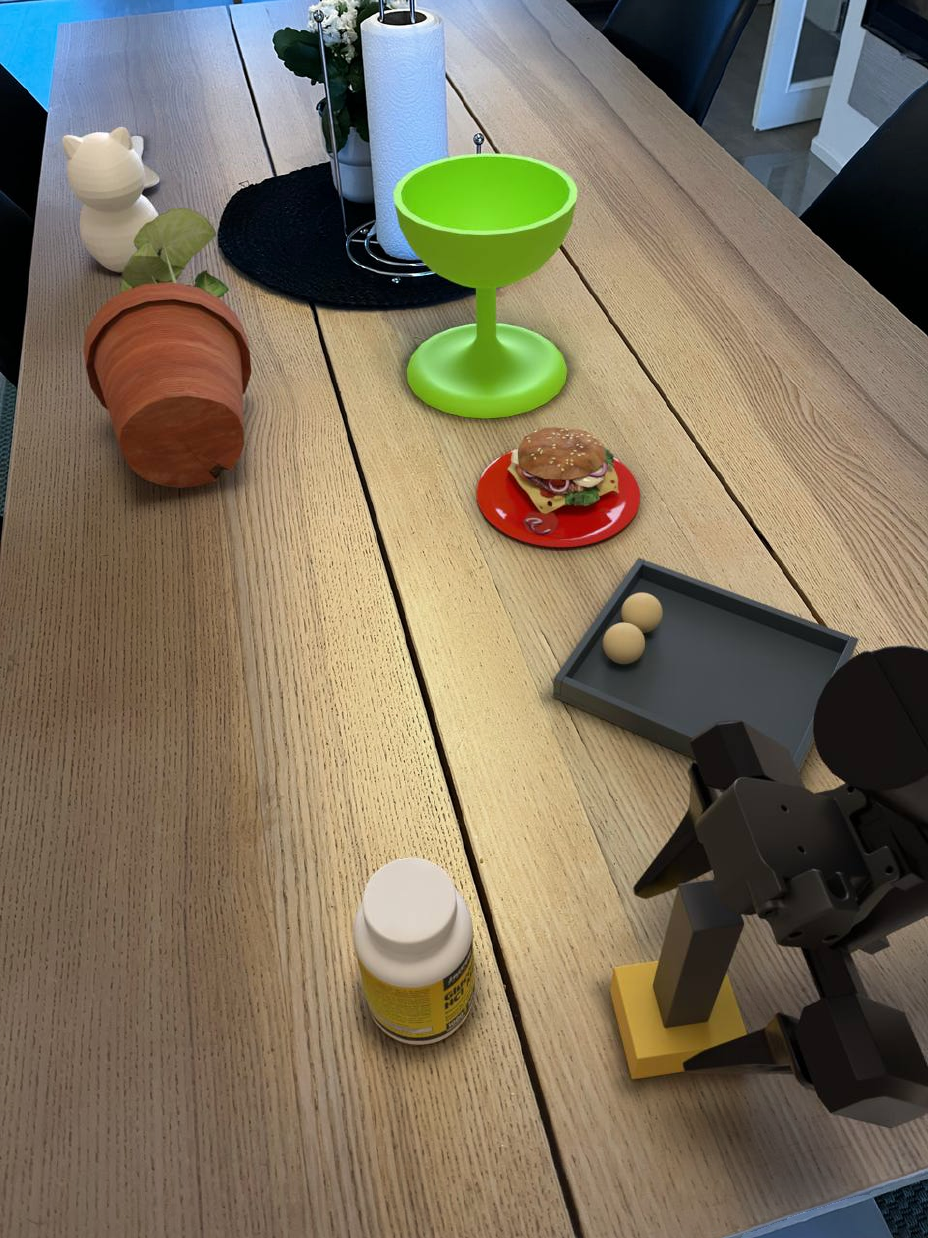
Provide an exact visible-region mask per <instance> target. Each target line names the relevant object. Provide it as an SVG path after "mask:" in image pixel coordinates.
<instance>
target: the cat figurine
mask: <svg viewBox="0 0 928 1238" xmlns="http://www.w3.org/2000/svg"><path fill="white" fill-rule="evenodd" d="M131 137H132V136H131V134H130V132H129V130H128V129H127V128H126V127H125V126H119V127H116V128H115V129H113V130H112V131H111V132H102V131H101V132H100V131H99V132H98V131H97V132H92V133H88V134H85V135H84V136H82V137H80V136H76V135H71V134H66V135H64V136H62V140H61V142H62V149H63V152H64V155H65V157H66V176H67V182H68V184H69V186H70V189H71V191H72V193H73V194H74V195H75V197H76V198H77V200H78V201H80V203H82V204H83V205H82V208H81V210H80V211H81V212H80V216H79V231H80V237H81V241H82V244H83V246H84V247H85V249H86V251H87V252H88V253H89V254H90V255H91V256H92V257H93V258H94V259H95V261H97V262H98V263H99V264H100V265H101V266H102V267H104V268H105V269H107V270H109V271H111V272H115V273H123V270H124V268H125V266H126V264H127V262H128V261H129V259H130V258H131V257H132V255H133V254H134V253H135V252H136V251H137V248H136V247H135V245H134V238H136V235H137V234H138V232H139V230H140V229H141V228H142V227H143V226H144V225H145V224H146V223H148V222H151V221H153V220H154V219H155V218H156V217H157V216H159V213H158V211H157V210H156V209H155V207H154V205H153V204H152V203H151V202H150V201H149V199H148V198H147V197H146V196H144V195H143V191H144V190H145V189H144V185H145V173H144V168H143V165H142V163H141V160H140V158H139V156H138V155H137V153H136V152H135V150H134V149H133V148H132V146H133V144H132V140H131Z"/></svg>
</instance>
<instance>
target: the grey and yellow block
mask: <svg viewBox="0 0 928 1238" xmlns="http://www.w3.org/2000/svg"><path fill="white" fill-rule="evenodd" d="M713 881H714V878H712V879H704V880H698V881H689V882H687V883H683V884H679V885H678V887H677V888H676V892H675V898H674V900H673V904H672V908H671V912H670V916H669V919H668V924H667V928H666V931H665V935H664V938H663V939H664V940H663V943H662V948H661V949H660V955H659V959H658V960H654V961H648V962H641V963H634V964H628V965H621V966H614V967H613V971H612V977H611V982H610V988H609V993H610V997H611V1002H612V1005H613V1010H614V1013H615V1018H616V1021H617V1025H618V1026H617V1027H618V1030H619V1033H620V1038H621V1041H622V1046H623V1050H624V1054H625V1058H626V1063H627V1066H628V1070H629V1074H630V1078H631V1080H638V1079H644V1078H650V1077H656V1076H657V1077H658V1076H664V1075H669V1074H670V1075H671V1074H676V1073H682V1072H685V1071H684V1069H683V1065H682V1063H683V1062H684V1061H686V1060H688V1059H689V1058H691V1057H693V1056H694V1055H696V1054H698V1053H700V1052H701V1051H703V1050H706V1049H709V1048H711V1047H714V1046H717V1045H720V1044H722V1043H725V1042H728V1041H730V1040H733V1039H736V1038H739V1037H741V1036H744V1035H747V1034H748V1033H747V1030H746V1026H745V1024H744V1023H745V1022H744V1021H743V1018H742V1015H741V1011H740V1009H739V1005H738V1003H737V999H736V996H735V993H734V990H733V988H732V984H731V982H730V979H729V975H728V969H729V967H730V964H731V962H732V959H733V956H734V953H735V951H736V948H737V945H738V943H739V940H740V937H741V935H742V932H743V930H744V926H745V921H744V918H743V916H742V914H738V913H735V912H733V911H732V910H730V909H729V908H727V907H726V906H725V905H724V904H723V902H722V901H721V900H720V898H719V897H718V895H717V892H716V890H715V887H714V884H713Z"/></svg>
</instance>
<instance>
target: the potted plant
mask: <svg viewBox="0 0 928 1238" xmlns="http://www.w3.org/2000/svg"><path fill="white" fill-rule="evenodd" d="M216 234H217V233H216V230H215V228H214V226H213V225H212V224H211V223H210V221H209V219H208V218H207V217H206V216H204V215H203V214H201V213H200V212H198V211H196V210H193V209H190V208H187V207H179V208H170V209H169V210H167V211H166V212H164V213H161V214H158V216H157V217H156V218H155V219H154V220H153V221H151V222H148V223H146V224H145V225H144V226H143V227H142V228H141V229H140V230H139V232H138V234H137V235H136V238H134V245H135V247H136V248H137V251H136V252H135V253H134V254H133V255H132V257H131V258H130V259H129V261H128V262H127V264H126V266H125V268H124V270H123V272H121V276H122V277H121V278H122V279H120V285H119V293H117V294H116V295H115V296H113V298H111V299H110V300H108V302H106V303H104V304H103V305H102V306H101V307H99V309H98V310H97V312H96V313H95V315H94V316H93V318H92V320H91V321H90V323H89V324H88V326H87V328H86V333H85V338H84V343H83V355H84V362H85V369H86V373H87V377H88V378H87V379H88V382H89V387H90V389H91V391H92V392H93V394H94V395H95V397H96V399H98V401H99V403H100V404H101V406H102V407H103V408H105V410H107V411H108V414H109V419H110V421H111V424H112V427H113V430H114V433H115V437H116V439H117V443H118V446H119V448H120V452H121V455H122V457H123V459H124V460H125V462H126V463H127V465H128V466H129V467H130V468H131V470H132V471H133V472H134V473H136V474H138V475H139V476H140V477H141V478H143V479H144V480H146V481H148V482H151V483H153V484H157V485H160V486H162V487H169V488H171V487H172V488H179V489H180V488H181V489H183V488H193V487H199V486H202V485H206V484H210V483H213V482H216V481H218V479H219V477H220V475H221V473H222V472H223V471H229V472H231V471H232V470H233V468H234V467H235V466H236V464H237V463H238V461H239V460H240V459H241V456H242V452H243V449H244V446H245V421H244V420H245V419H244V418H245V417H244V395H245V393H246V391H247V388H248V385H249V382H250V378H251V375H252V364H251V363H252V362H251V351H250V346H249V342H248V341H249V340H248V336H247V333H246V331H245V328H244V327H243V325H242V323H241V321H240V319H239V316H238V315H237V314H236V313H235V311H234V310H232V308H230V307H229V306H228V305H227V304H226V303H225V302H224V300H222V299H221V298H222V297H224V296H225V294H226V293H229V292H230V288H229V287H228V285H226V284H225V283H224V282H223V281H222V280H220V279H219V278H217V277H215V276H213V275H211V274H210V273H209V272H208V269H205V270H203V271H201V272H200V273H198V274H197V276H196V277H195V279H194V285H190V284H182V283H177V280H178V279H179V277H180V276H181V274H182V273H183V271H184V270H185V269H186V268H187V265H188V263H189V262H190V260H191V259H192V258H193V257H194V256H196V255H198V253H199V252H201V251H202V250H203V249H204V248H205V247H206V246H207V245H208V244H210V242H212V241H213V240H214V239H215V237H216Z"/></svg>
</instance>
